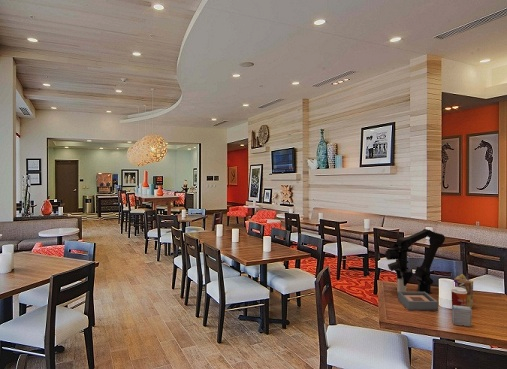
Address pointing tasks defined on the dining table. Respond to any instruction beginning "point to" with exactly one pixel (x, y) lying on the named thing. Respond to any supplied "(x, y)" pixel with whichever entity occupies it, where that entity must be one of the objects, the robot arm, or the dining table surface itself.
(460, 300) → the paper cup
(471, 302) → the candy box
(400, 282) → the peg
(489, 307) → the dining table surface
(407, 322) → the dining table surface
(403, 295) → the bin
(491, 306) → the dining table surface
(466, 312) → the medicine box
